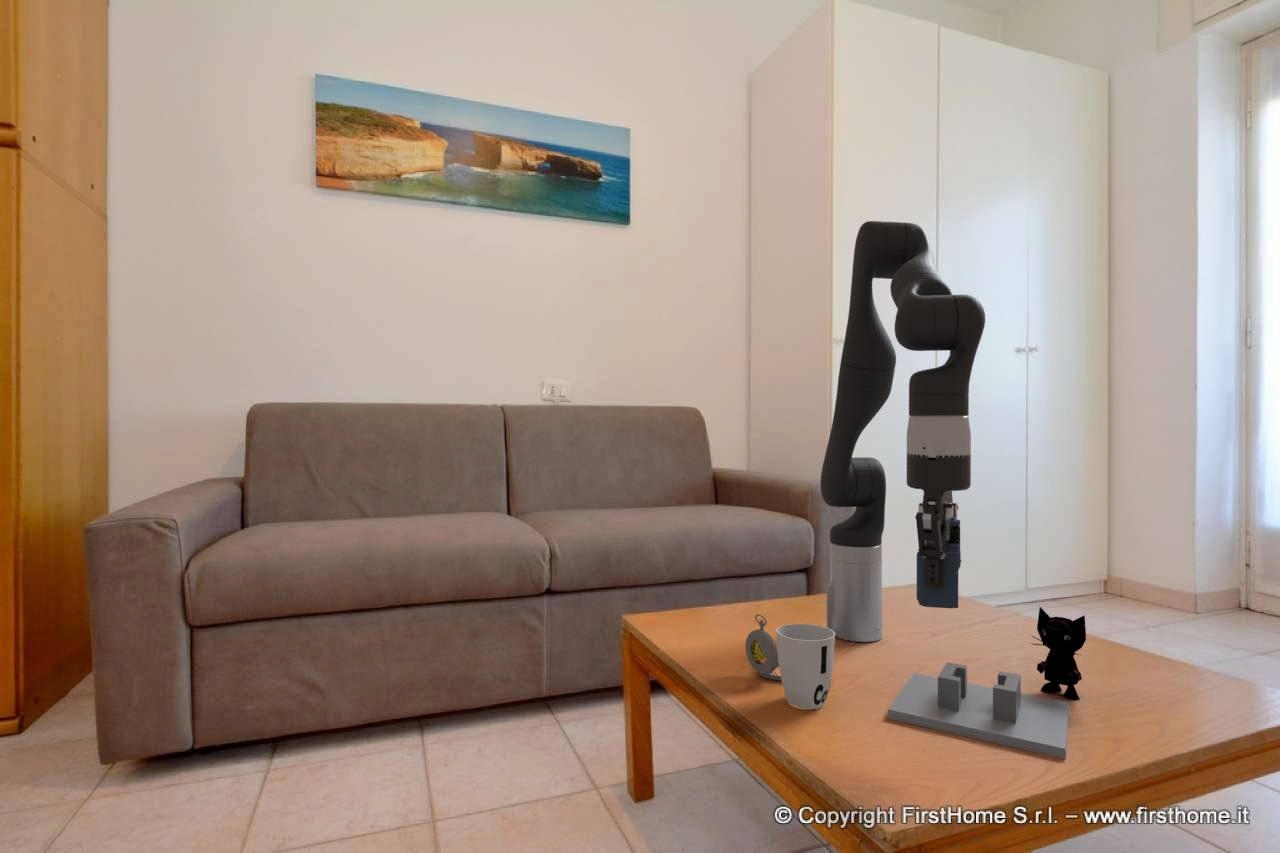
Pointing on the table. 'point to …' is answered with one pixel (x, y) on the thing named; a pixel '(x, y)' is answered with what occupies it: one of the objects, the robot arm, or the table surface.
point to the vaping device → (952, 565)
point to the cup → (805, 663)
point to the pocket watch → (762, 651)
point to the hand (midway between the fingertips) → (937, 584)
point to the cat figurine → (1060, 652)
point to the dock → (984, 710)
